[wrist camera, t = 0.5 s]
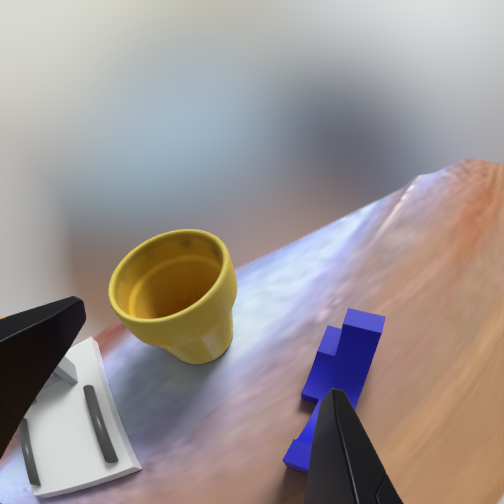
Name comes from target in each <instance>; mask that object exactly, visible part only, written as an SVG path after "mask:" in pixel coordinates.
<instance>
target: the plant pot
mask: <svg viewBox="0 0 504 504" xmlns="http://www.w3.org/2000/svg"><path fill="white" fill-rule="evenodd" d="M236 294H237V281H236V276H235V271H234V268H233V264H232V261H231V258H230V255H229V252H228V249H227V247H226V246H225V244H224V243H223V242H222V241H221V240H220V239H219V238H218V237H216V236H215V235H213V234H211V233H208V232H205V231H202V230H195V229H182V230H175V231H170V232H167V233H163V234H160V235H158V236H155V237H153V238H151V239H149V240H147V241H145V242H144V243H142V244H140V245H139V246H138V247H136V248H135V249H133V250H132V251H131V252H130V253H129V254H128V255H127V256H126V257H125V258H124V259H123V260H122V261H121V263H120V264H119V265H118V266H117V268H116V269H115V271H114V273H113V275H112V277H111V280H110V283H109V289H108V296H109V302H110V305H111V307H112V309H113V310H114V312H115V313H116V315H117V316H118V317H119V319H120V320H121V321H122V322H123V324H124V325H125V326H126V327H127V328H128V329H129V330H130V331H131V332H132V333H133V334H134V335H135V336H136V337H137V338H138V339H140V340H141V341H143V342H145V343H147V344H150V345H153V346H158V347H161V348H163V349H164V350H166V351H167V352H169V353H170V354H172V355H173V356H175V357H176V358H178V359H179V360H181V361H183V362H185V363H189V364H205V363H208V362H211V361H213V360H215V359H217V358H218V357H220V356H221V355H222V354H223V353H224V352H225V351H226V350H227V348H228V347H229V345H230V343H231V340H232V337H233V321H232V307H233V304H234V302H235V299H236Z"/></svg>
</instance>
